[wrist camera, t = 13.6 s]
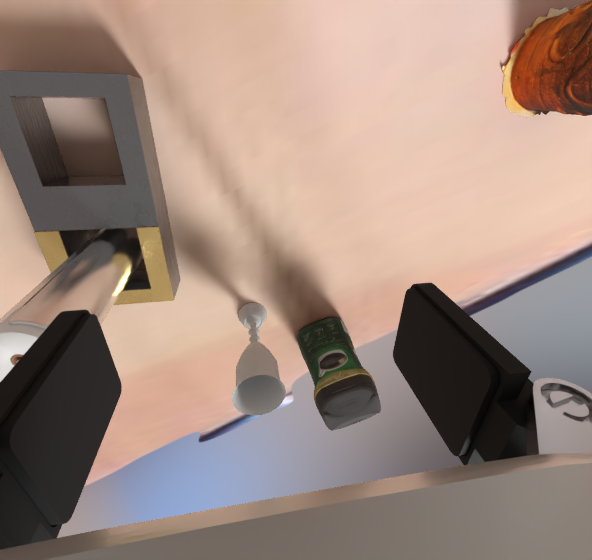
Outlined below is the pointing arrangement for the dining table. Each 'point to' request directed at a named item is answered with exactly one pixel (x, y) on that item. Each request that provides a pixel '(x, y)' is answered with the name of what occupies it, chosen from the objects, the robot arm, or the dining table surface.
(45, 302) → the silver long cylinder
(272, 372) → the chalice
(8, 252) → the dining table surface
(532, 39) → the vessel
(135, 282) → the dock
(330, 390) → the coffee jar
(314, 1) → the dining table surface
